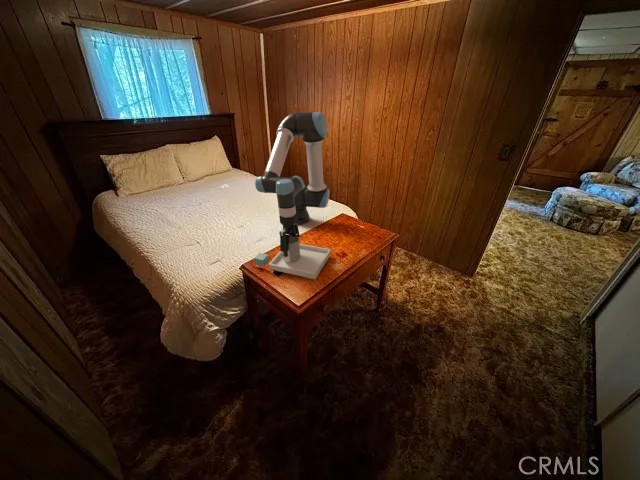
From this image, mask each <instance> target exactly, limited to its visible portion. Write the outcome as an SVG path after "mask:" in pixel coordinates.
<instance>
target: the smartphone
mask: <svg viewBox="0 0 640 480" xmlns="http://www.w3.org/2000/svg"><path fill="white" fill-rule="evenodd" d="M273 271H274V272H273V273H274V274H275V275H276V276H275V275H274V274H273V275H274V276H275V277H277V276H278V277H279V278H280V277H281V276H282V275H284V274H285V272H280V271H276V270H273ZM278 277H277V278H278Z"/></svg>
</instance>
